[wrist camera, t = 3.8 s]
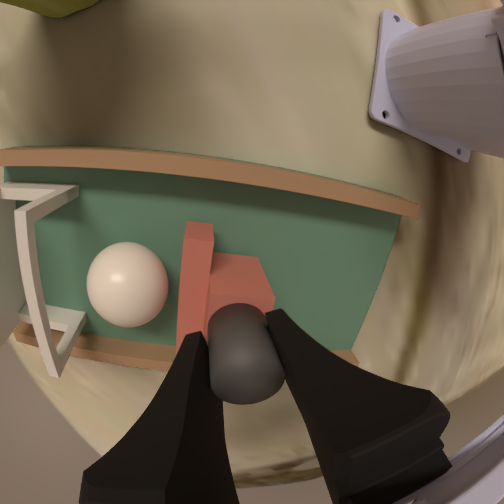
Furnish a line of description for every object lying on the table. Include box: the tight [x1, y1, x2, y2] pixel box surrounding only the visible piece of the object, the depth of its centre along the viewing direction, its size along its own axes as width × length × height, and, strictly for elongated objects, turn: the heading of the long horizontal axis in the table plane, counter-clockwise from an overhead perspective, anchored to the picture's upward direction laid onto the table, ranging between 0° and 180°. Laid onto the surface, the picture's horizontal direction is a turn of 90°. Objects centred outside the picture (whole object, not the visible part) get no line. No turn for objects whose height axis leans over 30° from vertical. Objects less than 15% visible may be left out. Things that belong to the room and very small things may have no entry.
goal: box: [0, 182, 87, 378], centre depth 11 cm, size 5×8×5 cm, turn 169°
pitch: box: [0, 146, 421, 371], centre depth 15 cm, size 24×12×2 cm, turn 79°
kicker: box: [176, 221, 285, 405], centre depth 12 cm, size 4×6×7 cm, turn 170°
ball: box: [87, 242, 168, 327], centre depth 12 cm, size 4×4×4 cm
